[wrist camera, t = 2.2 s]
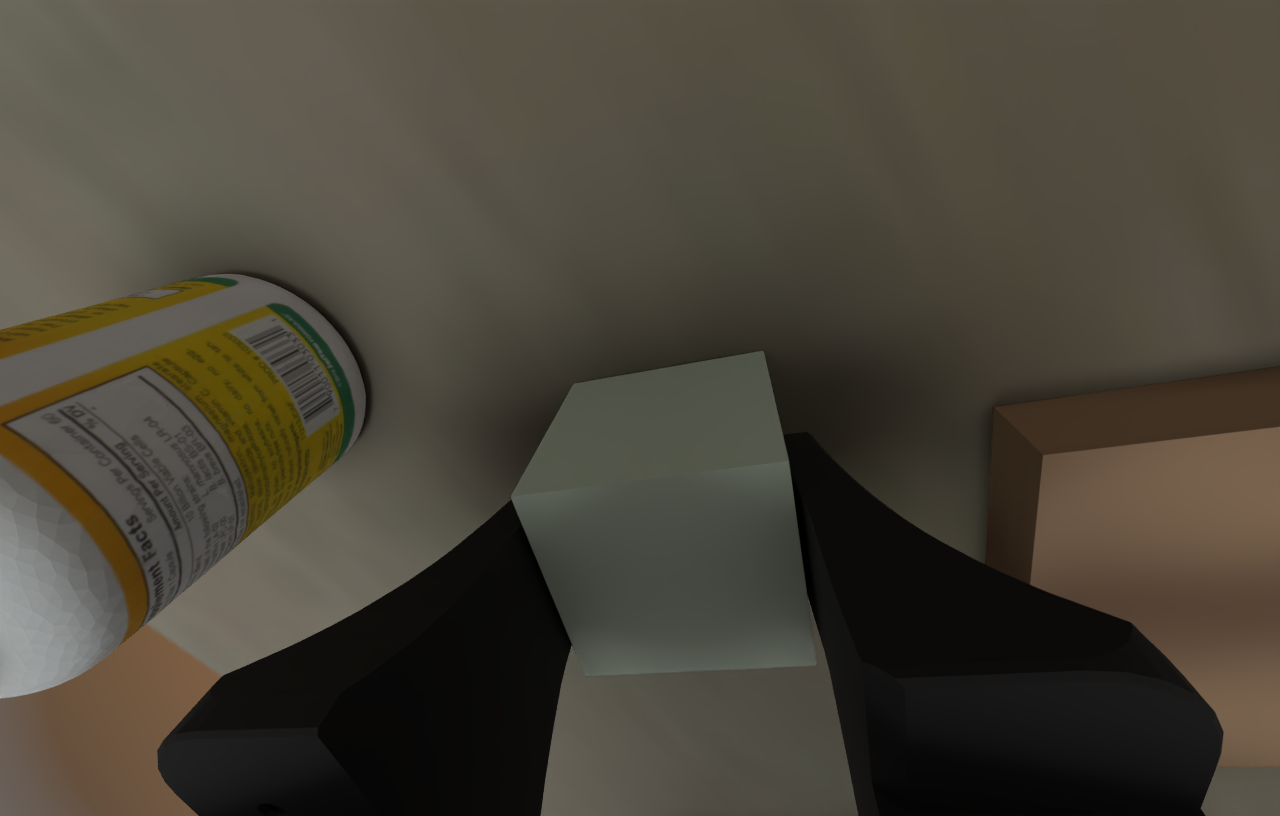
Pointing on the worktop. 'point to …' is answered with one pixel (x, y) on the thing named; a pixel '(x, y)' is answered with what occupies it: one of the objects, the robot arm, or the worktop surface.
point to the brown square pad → (1159, 528)
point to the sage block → (671, 522)
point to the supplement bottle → (152, 455)
